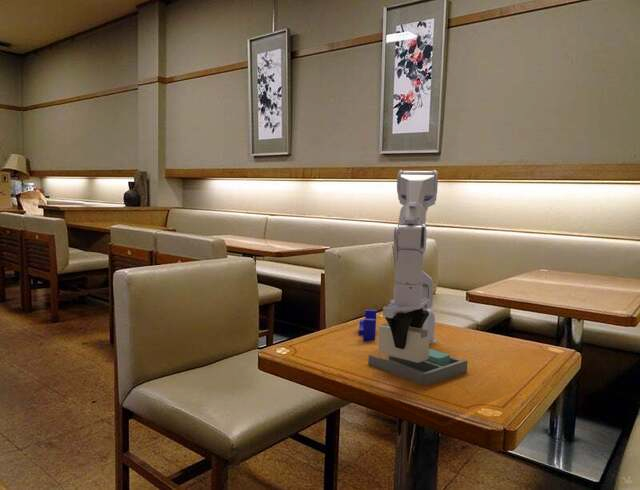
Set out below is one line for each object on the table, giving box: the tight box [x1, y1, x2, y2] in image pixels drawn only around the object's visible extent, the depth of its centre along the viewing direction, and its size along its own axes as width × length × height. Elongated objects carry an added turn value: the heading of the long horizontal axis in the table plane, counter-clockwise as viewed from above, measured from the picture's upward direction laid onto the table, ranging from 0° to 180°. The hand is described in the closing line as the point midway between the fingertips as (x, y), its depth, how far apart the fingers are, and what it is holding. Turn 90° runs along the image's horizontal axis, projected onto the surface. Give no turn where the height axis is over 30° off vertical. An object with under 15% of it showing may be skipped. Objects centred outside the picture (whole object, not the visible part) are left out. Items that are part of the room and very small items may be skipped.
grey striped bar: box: [378, 322, 430, 363], centre depth 102 cm, size 4×10×6 cm, turn 46°
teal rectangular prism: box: [425, 348, 451, 367], centre depth 106 cm, size 4×10×3 cm, turn 39°
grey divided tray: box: [367, 354, 468, 387], centre depth 104 cm, size 14×16×3 cm
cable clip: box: [358, 308, 377, 343], centre depth 130 cm, size 12×4×6 cm, turn 172°
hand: (406, 345), depth 102 cm, fingers closed on grey striped bar, 4 cm apart
